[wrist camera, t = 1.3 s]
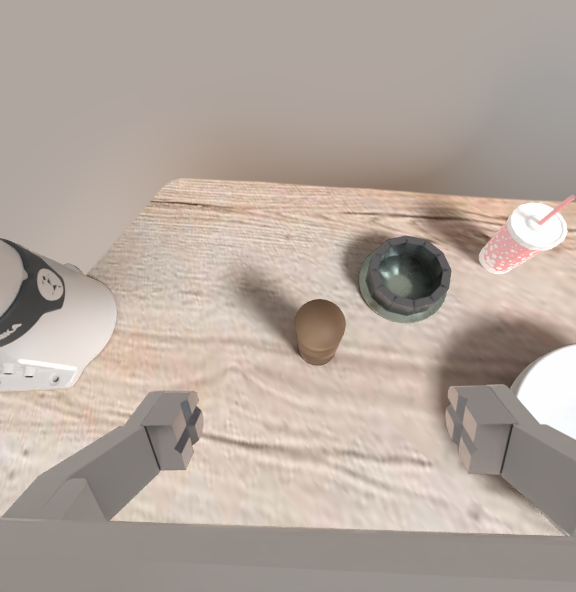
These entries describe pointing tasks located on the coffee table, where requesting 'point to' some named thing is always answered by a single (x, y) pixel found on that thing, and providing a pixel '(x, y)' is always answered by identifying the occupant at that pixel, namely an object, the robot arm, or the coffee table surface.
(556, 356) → the serving bowl
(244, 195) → the coffee table surface
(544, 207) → the beverage cup
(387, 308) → the cup holder
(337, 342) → the brown rounded cylinder
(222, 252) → the coffee table surface
